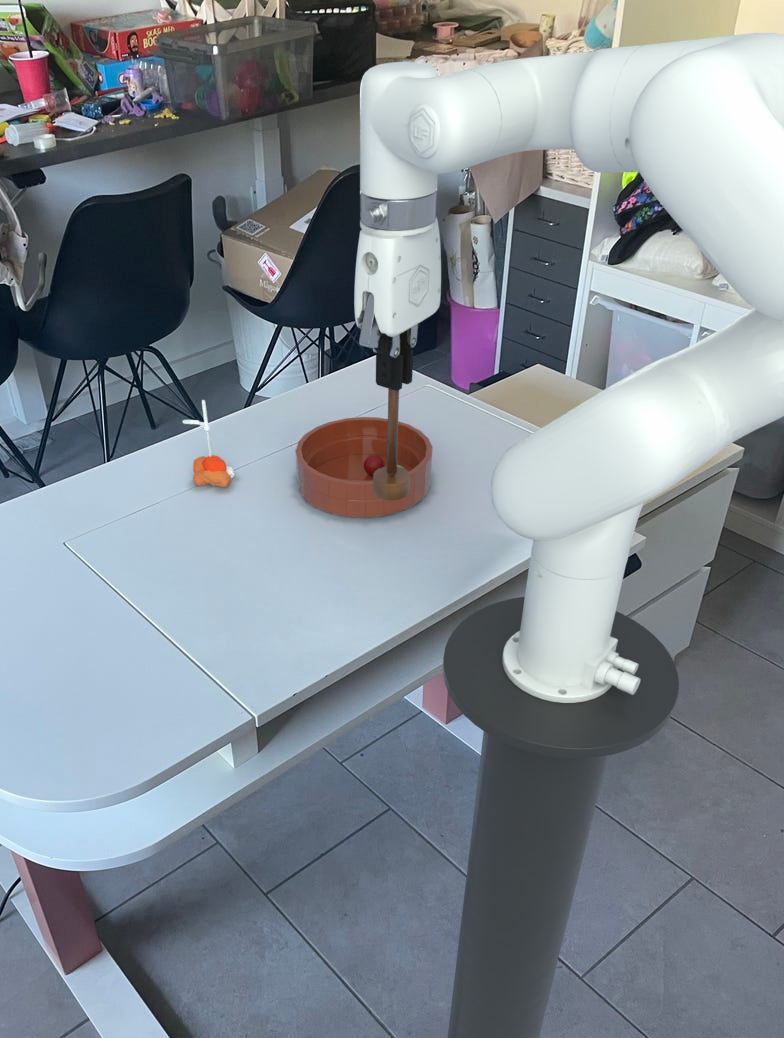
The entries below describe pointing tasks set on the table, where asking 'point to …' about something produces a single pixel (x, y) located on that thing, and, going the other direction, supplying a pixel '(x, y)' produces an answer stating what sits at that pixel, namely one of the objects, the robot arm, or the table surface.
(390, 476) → the wooden masher
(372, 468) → the red bead
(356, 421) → the bowl
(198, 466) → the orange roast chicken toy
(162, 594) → the table surface
